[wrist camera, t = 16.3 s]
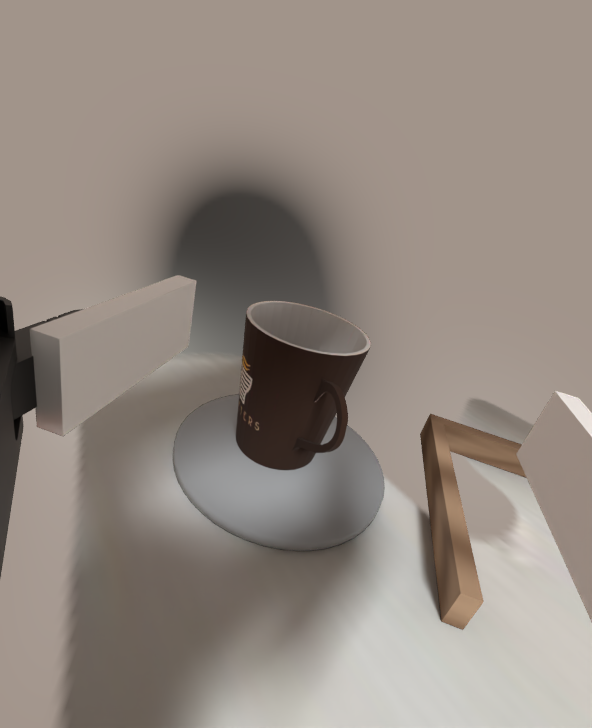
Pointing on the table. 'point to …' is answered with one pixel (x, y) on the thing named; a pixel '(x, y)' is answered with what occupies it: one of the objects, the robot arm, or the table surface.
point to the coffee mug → (295, 382)
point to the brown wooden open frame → (457, 510)
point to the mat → (276, 484)
